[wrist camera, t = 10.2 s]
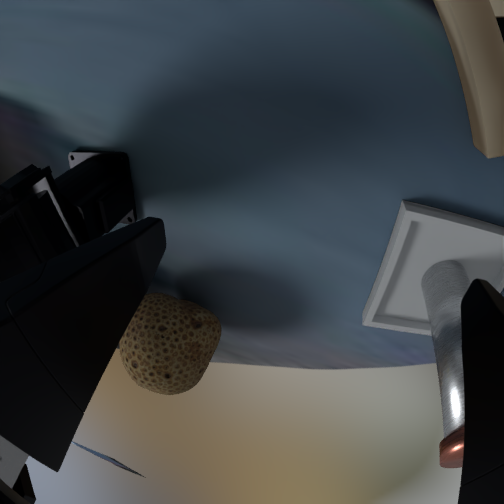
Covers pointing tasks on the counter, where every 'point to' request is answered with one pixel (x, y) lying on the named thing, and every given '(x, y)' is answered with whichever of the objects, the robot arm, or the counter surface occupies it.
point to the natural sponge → (169, 343)
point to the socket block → (479, 66)
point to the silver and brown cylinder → (448, 350)
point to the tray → (429, 263)
